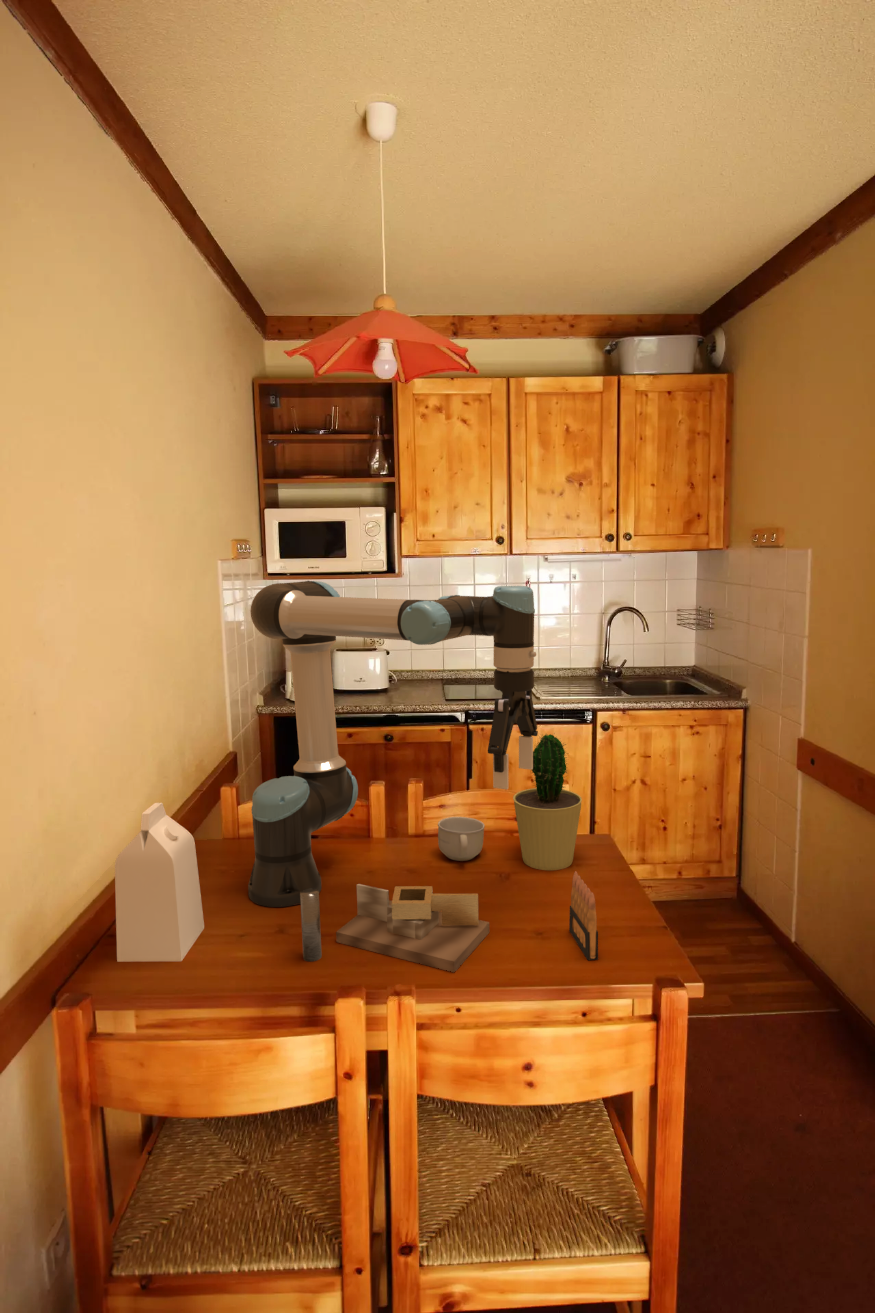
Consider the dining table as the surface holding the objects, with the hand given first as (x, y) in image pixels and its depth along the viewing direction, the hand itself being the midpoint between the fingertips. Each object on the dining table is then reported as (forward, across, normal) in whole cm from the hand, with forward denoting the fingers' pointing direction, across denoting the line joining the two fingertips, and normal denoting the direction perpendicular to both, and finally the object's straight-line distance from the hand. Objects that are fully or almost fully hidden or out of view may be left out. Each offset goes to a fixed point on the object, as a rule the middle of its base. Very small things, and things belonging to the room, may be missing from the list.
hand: (513, 778), depth 145 cm
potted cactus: (+27, +26, +2) cm, 38 cm away
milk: (+28, -38, +55) cm, 72 cm away
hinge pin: (+27, -30, +27) cm, 49 cm away
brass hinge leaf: (+25, -15, +10) cm, 31 cm away
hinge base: (+27, -17, +13) cm, 35 cm away
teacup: (+28, +20, +20) cm, 40 cm away
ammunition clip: (+27, -7, -16) cm, 32 cm away
